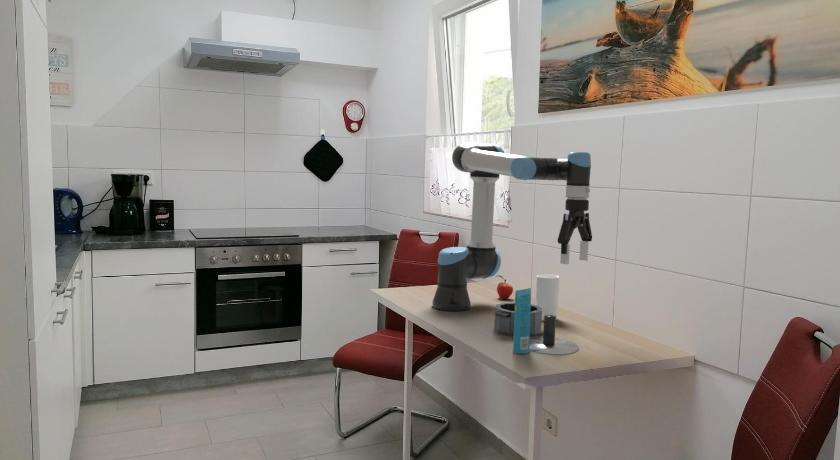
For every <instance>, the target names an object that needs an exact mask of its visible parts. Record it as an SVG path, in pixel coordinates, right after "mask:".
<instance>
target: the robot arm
mask: <svg viewBox="0 0 840 460" xmlns="http://www.w3.org/2000/svg"><path fill="white" fill-rule="evenodd" d="M591 156H592V155H591V153H589V152H586V151H570V152H568V153H567V157H566V158H562V157H560V158H557V157H556V158H555V157H554V158H553V157H535V156H534V157H532V156H525V155H518V154H512V153H511V154H510V153H505V151H504V149H503V148H502V147H501V146H500V145H498V144H494V143H484V142H483V143H482V142H463V143H460V144H458V145H457V146H456V147H455V148H454V150H453V152H452V155H451V160H452V163H453V166H454V167H455V168H456V169H457V170H458V171H460V172H463V173H469V177H470V179H471V180H472V182H473V187H472V189H473V190H472V204H471V205H472V208H471V226H470V227H471V232H470V241H469V242H468V243H466V247H464V246H452V247H447V248H446V247H445V248H443V249H441V250H440V251H439V253H438V258H437V287H436V290H435V293H434V296H433V298H432V305H433V306H432V305H431V306H432V308H434V307H435V308H434V309H436V308H437V310H439V309H440V311H447V312H463V311H468V310H470V309H471V306H472V303H471V299H470V295H469V290H468V280H475V279H477V280H478V279H487V278H492V277H494V276H496V274H497V273H499V270H500V268H501V265H502V258H501V256H500V252H499V250H497V249H496V247H497V246H496V244H495V243H493V233H494V231H493V230H494V229H493V228H494V213H495V212H494V211H495V210H494V209H495V195H496V194H495V193H496V192H495V191H496V182H497V181H499V180H500V175H501V176H507V177H512V178H515V180H520V181H521V180H523V181H527V180H528V181H530V180H531V181H532V180H533V181H535V180H536V181H566V187H565V197H566V198H567V199H566V200H565V204H564V205H565V210H566V211H568V213H563V218H562V223H561V226H560V229H559V234H558V237H557V243H558V244H560V262H559V263H560V264H563V265H569V264H570V250H571V247H570V246H571V244H569V242H570V241H571V238H572V235H573V234H574V232H575V229H577V231H578V234H579V235H580V238H581V240H580V241H579V242H580V243H579V260H580V261H588V259H589V242H592V240H593V234H592V228H591V222H590V213H589V212H587V211H589V208H590V207H589V206H590V205H589V204H590V201H589V198H590V192H591V189H590V186H591V185H590V183H591V182H590V181H591V180H590V179H591V168H592V162H591V161H592V160H591V159H592V158H591Z"/></svg>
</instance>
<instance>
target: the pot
mask: <svg viewBox="0 0 840 460" xmlns="http://www.w3.org/2000/svg"><path fill="white" fill-rule="evenodd" d="M514 313H515V302H501V303H497V304H496V305H495V307H494V326H493V327H494V329H493V330H494V331H495V332H496V333H498V334H500V335H504V336H509V337H514ZM542 322H543V321H542V308H541V307H540V306H537V305H535V304H532V303H531V313H530V337H538V336H540V335H542Z"/></svg>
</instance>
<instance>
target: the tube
mask: <svg viewBox="0 0 840 460" xmlns="http://www.w3.org/2000/svg"><path fill="white" fill-rule="evenodd" d="M514 303H515V313H514V336H513V339H512V340H513V341H512V342H513V343H512V345H513V346H512V352H513V353H515V354H521V355H523V354H525V355H526V354H528V353H530V351H529V344H530V313H531V304H532V289H531V287H528V288H523V289H518V290H515V295H514Z"/></svg>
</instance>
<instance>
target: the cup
mask: <svg viewBox="0 0 840 460" xmlns="http://www.w3.org/2000/svg"><path fill="white" fill-rule="evenodd" d="M535 283H536V284H535V304H534V305H537V306H540V307H541V308H542V322H544V316H545V315H554V316H556V321H557V320H558V313H559V291H560V276H559V275H556V274H551V273H550V274H549V273H547V274H546V273H545V274H544V273H541V274H536V282H535Z"/></svg>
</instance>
